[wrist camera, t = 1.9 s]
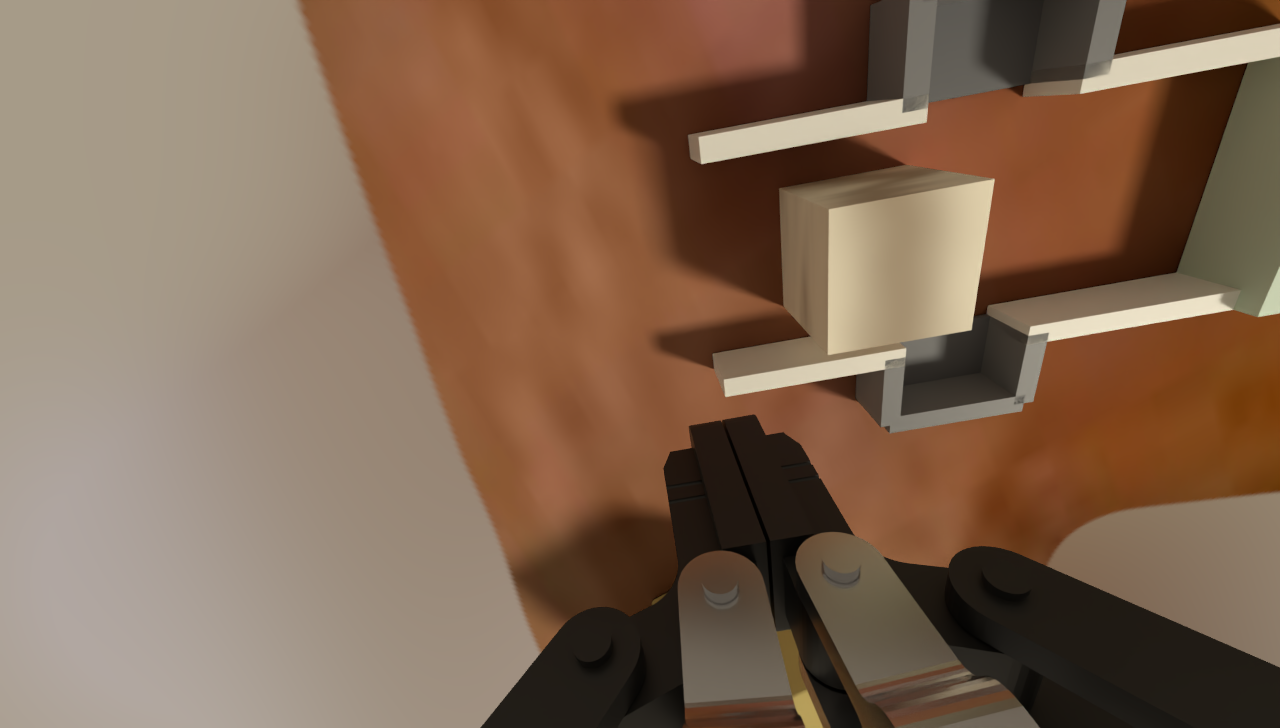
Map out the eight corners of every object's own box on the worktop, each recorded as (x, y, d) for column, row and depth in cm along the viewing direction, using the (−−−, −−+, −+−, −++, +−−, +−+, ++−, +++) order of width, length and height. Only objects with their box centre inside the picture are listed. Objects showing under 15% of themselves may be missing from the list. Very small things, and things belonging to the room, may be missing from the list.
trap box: (1327, -99, 19) (1490, -148, 16) (1165, 352, 28) (1245, 386, 25) (675, 28, 20) (689, 8, 16) (720, 428, 29) (736, 471, 25)
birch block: (905, 164, 23) (994, 178, 18) (896, 285, 26) (971, 330, 20) (778, 188, 23) (828, 209, 18) (782, 305, 26) (827, 355, 20)
